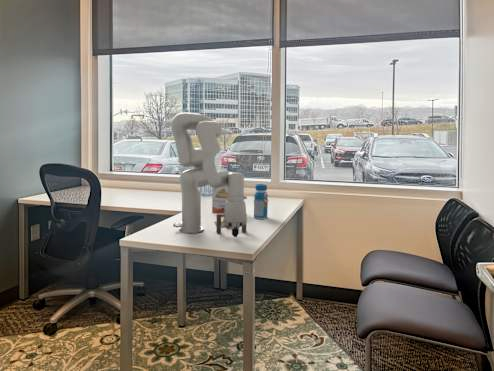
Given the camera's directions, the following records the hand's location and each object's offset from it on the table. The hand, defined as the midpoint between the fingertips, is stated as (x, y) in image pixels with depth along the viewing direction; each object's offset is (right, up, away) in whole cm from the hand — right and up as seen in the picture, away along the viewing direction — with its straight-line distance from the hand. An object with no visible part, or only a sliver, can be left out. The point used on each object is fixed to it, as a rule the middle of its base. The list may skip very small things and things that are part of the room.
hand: (235, 236), depth 185 cm
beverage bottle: (+14, +5, +47) cm, 49 cm away
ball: (-4, +5, +25) cm, 25 cm away
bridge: (-2, 0, +13) cm, 13 cm away
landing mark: (-5, +3, +29) cm, 30 cm away
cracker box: (-9, +7, +61) cm, 62 cm away
